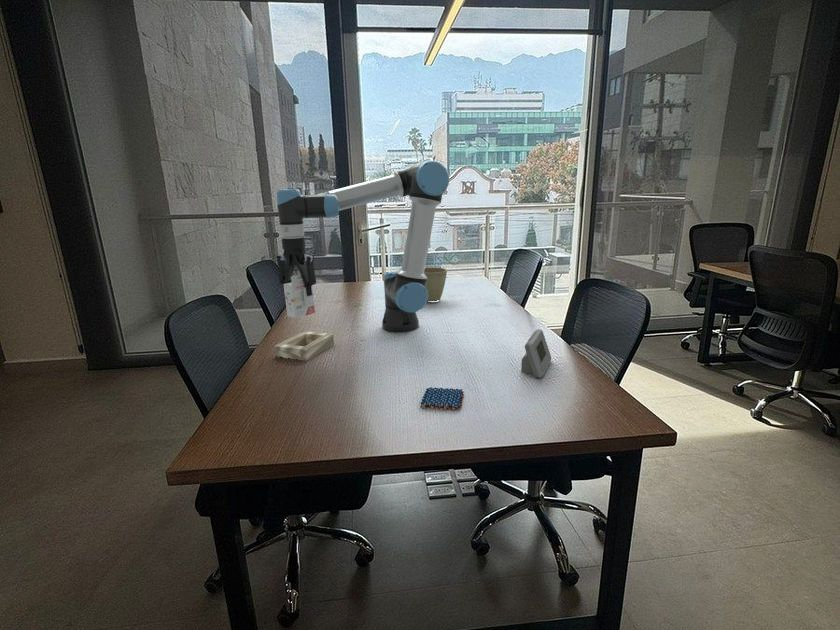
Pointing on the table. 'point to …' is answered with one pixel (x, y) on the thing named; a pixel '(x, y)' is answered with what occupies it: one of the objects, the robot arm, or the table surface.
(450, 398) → the woven mat
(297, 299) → the ink cartridge box
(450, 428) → the table surface
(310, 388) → the table surface
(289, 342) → the beige flat rectangular frame
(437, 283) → the plant pot
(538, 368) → the digital clock
